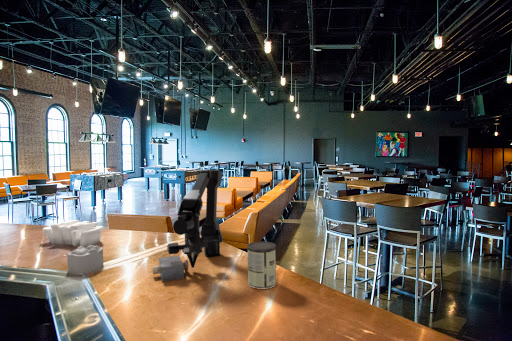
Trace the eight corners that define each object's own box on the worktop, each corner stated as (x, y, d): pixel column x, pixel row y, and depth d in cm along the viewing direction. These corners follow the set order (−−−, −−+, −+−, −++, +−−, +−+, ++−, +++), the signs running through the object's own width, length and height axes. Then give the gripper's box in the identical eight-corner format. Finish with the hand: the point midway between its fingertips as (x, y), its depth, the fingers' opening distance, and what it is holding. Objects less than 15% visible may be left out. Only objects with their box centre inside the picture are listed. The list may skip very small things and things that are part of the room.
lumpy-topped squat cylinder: (64, 271, 127) (63, 250, 126) (92, 261, 138) (92, 242, 138) (81, 275, 122) (81, 253, 122) (109, 264, 134) (109, 244, 134)
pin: (186, 269, 127) (186, 258, 127) (188, 273, 123) (188, 261, 123) (152, 274, 122) (152, 262, 122) (153, 278, 118) (153, 266, 118)
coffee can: (253, 277, 120) (252, 240, 119) (279, 280, 116) (279, 242, 116) (243, 287, 110) (242, 247, 109) (271, 291, 107) (271, 250, 106)
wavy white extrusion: (111, 242, 169) (110, 223, 168) (82, 251, 154) (82, 229, 153) (68, 235, 184) (67, 218, 183) (38, 243, 169) (38, 223, 168)
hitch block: (179, 267, 130) (179, 255, 129) (183, 278, 119) (183, 264, 118) (158, 270, 127) (158, 257, 126) (161, 281, 116) (161, 267, 115)
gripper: (170, 235, 114) (171, 278, 115) (220, 230, 121) (220, 270, 122) (166, 229, 124) (167, 268, 125) (213, 225, 131) (213, 262, 132)
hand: (192, 267), depth 126 cm, fingers closed
